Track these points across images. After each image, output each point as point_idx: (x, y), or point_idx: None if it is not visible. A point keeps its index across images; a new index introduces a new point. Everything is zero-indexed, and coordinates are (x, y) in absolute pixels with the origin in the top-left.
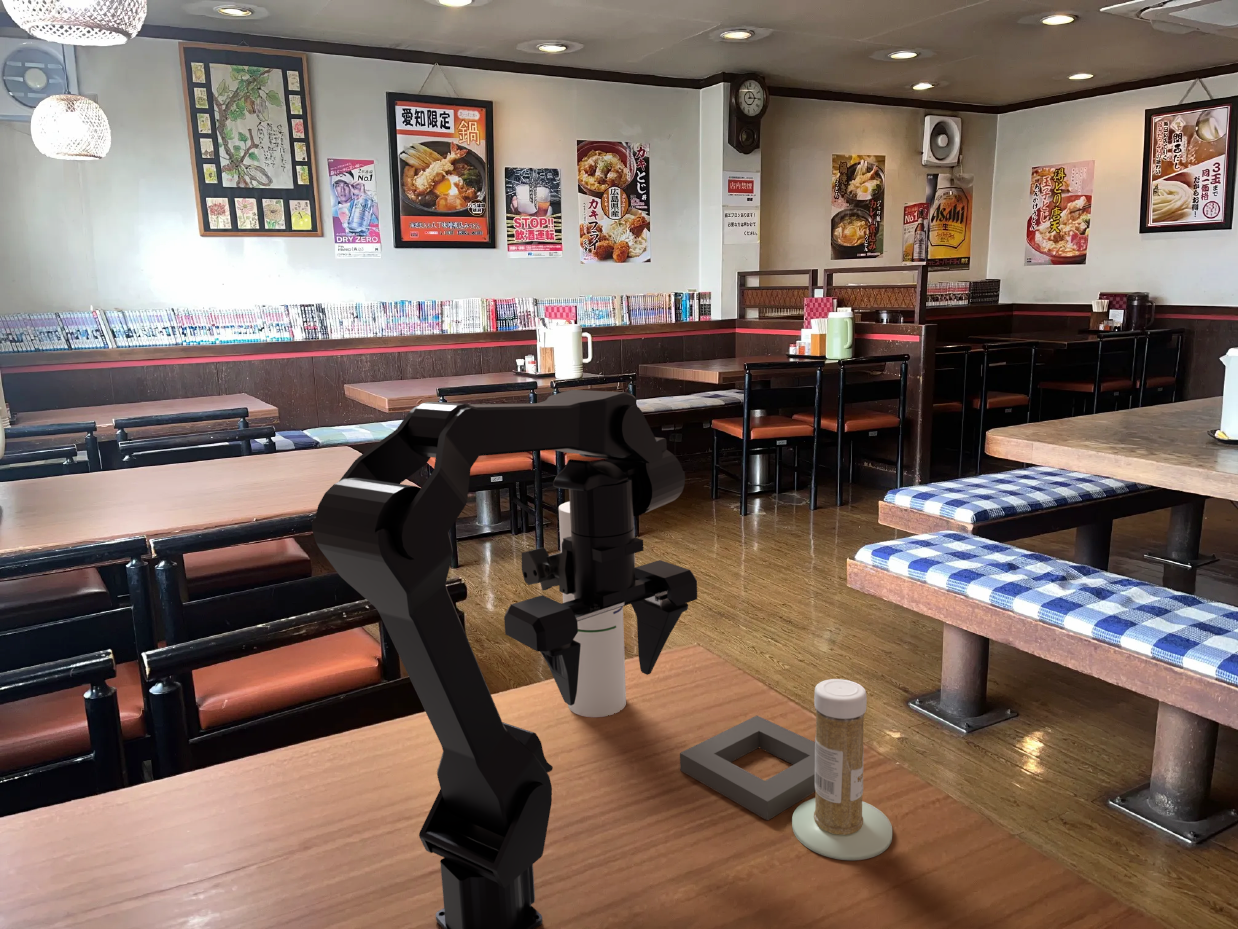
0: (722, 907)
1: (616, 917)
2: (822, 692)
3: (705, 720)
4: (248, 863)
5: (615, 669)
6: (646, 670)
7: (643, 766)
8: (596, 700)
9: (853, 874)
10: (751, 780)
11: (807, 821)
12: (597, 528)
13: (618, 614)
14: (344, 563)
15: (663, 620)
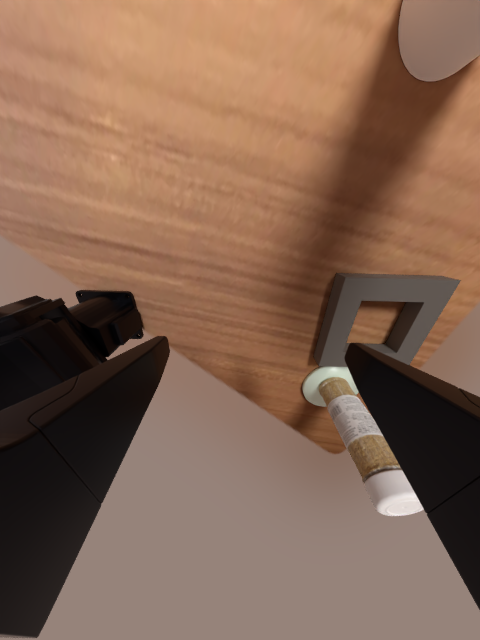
0: (232, 381)
1: (183, 355)
2: (387, 504)
3: (450, 215)
4: None
5: None
6: (348, 362)
7: (323, 240)
8: (433, 36)
9: (298, 402)
10: (337, 346)
11: (323, 376)
12: None
13: None
14: None
15: (466, 573)
